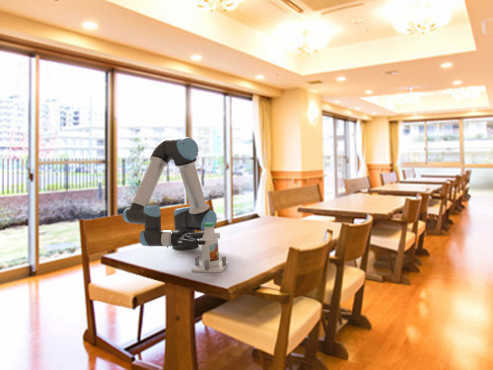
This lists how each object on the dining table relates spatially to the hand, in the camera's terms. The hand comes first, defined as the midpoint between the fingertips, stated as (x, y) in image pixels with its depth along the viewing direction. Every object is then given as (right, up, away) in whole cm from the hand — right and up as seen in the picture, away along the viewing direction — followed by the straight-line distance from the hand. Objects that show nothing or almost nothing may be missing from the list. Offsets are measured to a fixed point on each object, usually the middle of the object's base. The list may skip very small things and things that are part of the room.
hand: (216, 238), depth 162 cm
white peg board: (-3, -14, +1) cm, 14 cm away
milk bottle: (-3, -13, +1) cm, 13 cm away
